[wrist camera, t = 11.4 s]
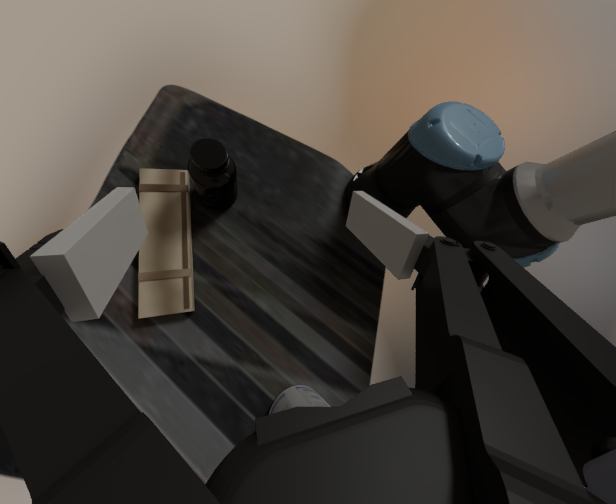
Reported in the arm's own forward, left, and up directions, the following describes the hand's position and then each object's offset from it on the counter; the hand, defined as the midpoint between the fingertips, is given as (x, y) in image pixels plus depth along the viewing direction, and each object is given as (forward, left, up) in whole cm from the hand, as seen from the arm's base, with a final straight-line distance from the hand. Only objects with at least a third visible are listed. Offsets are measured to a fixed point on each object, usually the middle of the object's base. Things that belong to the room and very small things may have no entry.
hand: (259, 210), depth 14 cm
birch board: (+12, -7, -27) cm, 31 cm away
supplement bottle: (+4, -15, -28) cm, 32 cm away
